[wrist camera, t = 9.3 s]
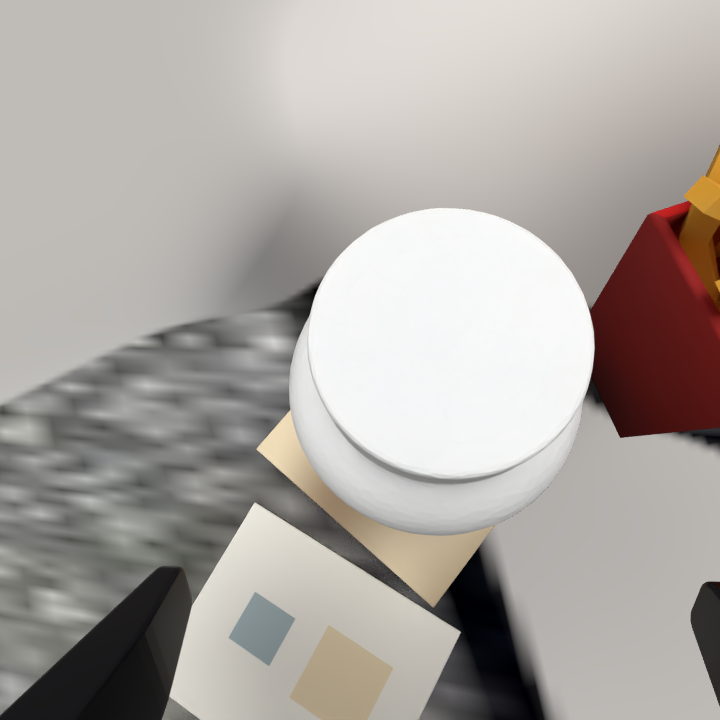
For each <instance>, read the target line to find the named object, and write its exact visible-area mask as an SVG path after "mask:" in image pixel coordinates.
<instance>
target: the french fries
mask: <svg viewBox="0 0 720 720" xmlns="http://www.w3.org/2000/svg"><path fill="white" fill-rule="evenodd" d="M684 197H685V198H686V199H687V200H689V201H687V202H684V203H681V204H678V205H675V206H672V207H669V208H666V209H662V210H659V211H656V212H653V213H651V214H649V215H647V217H646V218H645V220H644V222H643V224H642V225H641V227H640V229H639V230H638V232H637V234H636V235H635V237H634V239H633V240H632V242H631V244H630V245H629V247H628V249H627V250H626V252H625V254H624V255H623V257H622V259H621V260H620V262H619V264H618V265H617V267H616V269H615V270H614V272H613V274H612V275H611V277H610V279H609V281H608V282H607V284H606V285H605V287H604V289H603V290H602V292H601V294H600V295H599V297H598V299H597V300H596V302H595V304H594V305H593V307H592V309H591V310H590V316H591V320H592V325H593V330H594V347H595V350H594V360H593V369H592V374H591V377H592V379H593V382H594V384H595V386H596V388H597V390H598V392H599V394H600V396H601V398H602V401H603V403H604V405H605V407H606V409H607V411H608V413H609V415H610V417H611V419H612V422H613V424H614V426H615V428H616V430H617V432H618V434H619V436H620V438H622V437H632V436H642V435H652V434H662V433H672V432H681V431H691V430H701V429H711V428H720V145H719V148H718V150H717V152H716V155H715V157H714V159H713V161H712V163H711V165H710V168H709V170H708V172H707V174H706V176H702V177H701V178H700V179H699V180H698V181H697V182H696V183H695V184H694V186H693V187H692V188H691V189H690V190H689V191H688V192H687V193H686V194H685V195H684Z"/></svg>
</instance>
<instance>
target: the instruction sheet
mask: <svg viewBox="0 0 720 720" xmlns="http://www.w3.org/2000/svg"><path fill="white" fill-rule="evenodd" d="M460 633H461V632H460V631H459V630H457V629H456V628H454V627H453V626H451V625H449V624H448V623H446V622H445V621H443V620H441V619H440V618H438V617H437V616H435V615H434V614H432V613H430V612H429V611H427V610H426V609H424V608H422V607H421V606H419V605H418V604H416V603H414V602H413V601H411V600H410V599H408V598H407V597H405V596H403V595H402V594H400V593H399V592H397V591H395V590H394V589H392V588H391V587H389V586H387V585H386V584H384V583H383V582H381V581H379V580H378V579H376V578H375V577H373V576H372V575H370V574H368V573H367V572H365V571H364V570H362V569H360V568H359V567H357V566H356V565H354V564H352V563H351V562H349V561H348V560H346V559H345V558H343V557H341V556H340V555H338V554H337V553H335V552H333V551H332V550H330V549H329V548H327V547H325V546H324V545H322V544H321V543H319V542H318V541H316V540H314V539H313V538H311V537H310V536H308V535H306V534H305V533H303V532H302V531H300V530H298V529H297V528H295V527H294V526H292V525H291V524H289V523H287V522H286V521H284V520H283V519H281V518H279V517H278V516H276V515H275V514H273V513H271V512H270V511H268V510H267V509H265V508H264V507H262V506H260V505H259V504H257V503H254V505H253V506H252V508H251V510H250V511H249V513H248V515H247V516H246V518H245V519H244V521H243V523H242V524H241V526H240V528H239V529H238V531H237V533H236V534H235V536H234V538H233V539H232V541H231V543H230V544H229V546H228V548H227V549H226V551H225V553H224V554H223V556H222V558H221V559H220V561H219V562H218V564H217V566H216V567H215V569H214V571H213V572H212V574H211V576H210V577H209V579H208V581H207V582H206V584H205V586H204V587H203V589H202V591H201V592H200V594H199V596H198V597H197V599H196V600H195V602H194V604H193V605H192V607H191V612H190V616H189V620H188V624H187V628H186V632H185V636H184V640H183V644H182V648H181V652H180V656H179V660H178V664H177V668H176V672H175V676H174V680H173V684H172V688H171V692H170V696H169V697H171V698H172V699H173V700H175V701H176V702H177V703H179V704H180V705H182V706H183V707H184V708H186V709H187V710H188V711H190V712H191V713H192V714H194V715H195V716H196V717H198V718H199V719H200V720H419V718H420V716H421V714H422V712H423V710H424V708H425V706H426V704H427V701H428V699H429V697H430V695H431V693H432V691H433V689H434V687H435V685H436V683H437V681H438V679H439V677H440V674H441V672H442V670H443V668H444V666H445V664H446V662H447V660H448V658H449V656H450V654H451V652H452V650H453V648H454V645H455V643H456V641H457V639H458V637H459V635H460Z"/></svg>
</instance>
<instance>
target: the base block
mask: <svg viewBox="0 0 720 720" xmlns="http://www.w3.org/2000/svg"><path fill="white" fill-rule="evenodd" d="M257 450H258V451H259V452H260V453H261V454H262V455H264V456H265V457H266V458H267V459H268V460H269V461H270V462H271V463H272V464H274V465H275V466H276V467H277V468H278V469H279V470H280V471H281V472H283V473H284V474H285V475H286V476H287V477H288V478H289V479H290V480H291V481H293V482H294V483H295V484H296V485H297V486H298V487H299V488H300V489H301V490H303V491H304V492H305V493H306V494H307V495H308V496H309V497H310V498H312V499H313V500H314V501H315V502H316V503H317V504H318V505H319V506H320V507H322V508H323V509H324V510H325V511H326V512H327V513H328V514H329V515H330V516H332V517H333V518H334V519H335V520H336V521H337V522H338V523H339V524H341V525H342V526H343V527H344V528H345V529H346V530H347V531H348V532H349V533H351V534H352V535H353V536H354V537H355V538H356V539H357V540H358V541H360V542H361V543H362V544H363V545H364V546H365V547H366V548H367V549H368V550H370V551H371V552H372V553H373V554H374V555H375V556H376V557H377V558H378V559H380V560H381V561H382V562H383V563H384V564H385V565H386V566H387V567H389V568H390V569H391V570H392V571H393V572H394V573H395V574H396V575H397V576H399V577H400V578H401V579H402V580H403V581H404V582H405V583H406V584H407V585H409V586H410V587H411V588H412V589H413V590H414V591H415V592H416V593H418V594H419V595H420V596H421V597H422V598H423V599H424V600H425V601H426V602H428V603H429V604H430V605H431V606H432V607H433V608H434V606H435V605H436V604H437V602H438V601H439V600H440V598H441V597H442V595H443V594H444V593H445V591H446V590H447V589H448V587H449V586H450V585H451V583H452V582H453V581H454V579H455V578H456V577H457V575H458V574H459V573H460V571H461V570H462V569H463V567H464V566H465V565H466V563H467V562H468V561H469V559H470V558H471V557H472V555H473V554H474V552H475V551H476V550H477V548H478V547H479V546H480V544H481V543H482V542H483V540H484V539H485V538H486V536H487V535H488V534H489V532H490V531H491V530H492V528H493V527H494V526H495V525H493V526H490V527H487V528H485V529H481V530H477V531H473V532H469V533H464V534H457V535H447V536H434V535H421V534H414V533H408V532H404V531H400V530H396V529H393V528H390V527H387V526H385V525H382V524H380V523H378V522H376V521H374V520H372V519H370V518H368V517H366V516H364V515H362V514H360V513H359V512H357V511H356V510H354V509H353V508H352V507H350V506H349V505H347V504H346V503H345V502H344V501H342V500H341V499H340V498H339V497H338V496H336V495H335V494H334V493H333V492H332V491H331V490H330V489H329V488H328V486H327V485H326V484H325V483H324V482H323V481H322V480H321V478H320V477H319V476H318V474H317V473H316V471H315V470H314V468H313V467H312V466H311V464H310V462H309V461H308V459H307V457H306V455H305V453H304V451H303V450H302V448H301V445H300V443H299V440H298V437H297V434H296V431H295V428H294V424H293V420H292V415H291V410H290V411H289V412H288V413H287V415H286V416H285V417H284V418H283V419H282V420H281V421H280V423H279V424H278V425H277V426H276V427H275V428H274V429H273V431H272V432H271V433H270V434H269V435H268V436H267V437H266V439H265V440H264V441H263V442H262V443H261V444H260V445H259V447H258V448H257Z"/></svg>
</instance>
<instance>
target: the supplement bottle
mask: <svg viewBox="0 0 720 720" xmlns="http://www.w3.org/2000/svg"><path fill="white" fill-rule="evenodd" d="M594 350H595V347H594V330H593V325H592V320H591V316H590V312H589V309H588V306H587V303H586V300H585V297H584V294H583V293H582V291H581V289H580V287H579V285H578V284H577V281H576V280H575V278H574V276H573V274H572V273H571V271H570V270H569V269H568V268H567V266H566V265H565V264H564V263H563V261H562V260H561V258H560V257H559V256H558V255H557V254H556V253H555V252H554V251H553V250H552V249H551V248H550V247H548V246H547V245H546V244H545V243H544V242H542V241H541V240H540V239H539V238H538V237H536V236H535V235H533V234H532V233H530V232H529V231H527V230H525V229H524V228H522V227H520V226H518V225H516V224H514V223H512V222H510V221H508V220H505V219H503V218H500V217H498V216H494V215H491V214H487V213H483V212H479V211H473V210H467V209H457V208H434V209H427V210H422V211H416V212H411V213H408V214H404V215H401V216H398V217H395V218H393V219H390V220H388V221H385V222H384V223H381V224H379V225H378V226H375V227H373V228H372V229H370V230H369V231H367V232H366V233H365V234H363V235H362V236H361V237H359V238H358V239H357V240H355V241H354V242H353V243H352V244H350V245H349V246H348V247H347V249H345V250H344V252H342V253H341V255H339V256H338V258H337V259H336V260H335V261H334V263H333V264H332V265H331V267H330V268H329V270H328V271H327V273H326V275H325V276H324V278H323V280H322V282H321V284H320V286H319V288H318V291H317V293H316V296H315V299H314V302H313V305H312V309H311V313H310V316H309V318H308V320H307V322H306V323H305V325H304V328H303V330H302V332H301V334H300V337H299V339H298V342H297V344H296V348H295V351H294V355H293V359H292V364H291V369H290V380H289V397H290V409H291V415H292V420H293V424H294V428H295V431H296V434H297V437H298V440H299V443H300V445H301V448H302V450H303V451H304V453H305V455H306V457H307V459H308V461H309V462H310V464H311V466H312V467H313V468H314V470H315V471H316V473H317V474H318V476H319V477H320V478H321V480H322V481H323V482H324V483H325V484H326V485H327V486H328V488H329V489H330V490H331V491H332V492H333V493H334V494H335V495H336V496H338V497H339V498H340V499H341V500H342V501H344V502H345V503H346V504H347V505H349V506H350V507H352V508H353V509H354V510H356V511H357V512H359V513H360V514H362V515H364V516H366V517H368V518H370V519H372V520H374V521H376V522H378V523H380V524H382V525H385V526H387V527H390V528H393V529H396V530H400V531H404V532H408V533H414V534H421V535H434V536H447V535H457V534H464V533H469V532H473V531H477V530H481V529H485V528H487V527H490V526H493V525H495V524H497V523H499V522H502V521H504V520H506V519H508V518H510V517H512V516H513V515H515V514H517V513H518V512H520V511H521V510H522V509H524V508H525V507H526V506H528V505H529V504H531V503H532V502H533V501H535V499H537V498H538V497H539V496H540V495H541V494H542V493H543V492H544V491H545V490H546V489H547V488H548V486H549V485H550V484H551V483H552V481H553V480H554V479H555V477H556V476H557V475H558V473H559V472H560V470H561V468H562V467H563V466H564V464H565V462H566V460H567V458H568V456H569V454H570V451H571V449H572V447H573V444H574V441H575V438H576V435H577V432H578V429H579V425H580V420H581V415H582V403H583V400H584V397H585V394H586V392H587V389H588V386H589V382H590V378H591V374H592V369H593V360H594Z"/></svg>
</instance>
